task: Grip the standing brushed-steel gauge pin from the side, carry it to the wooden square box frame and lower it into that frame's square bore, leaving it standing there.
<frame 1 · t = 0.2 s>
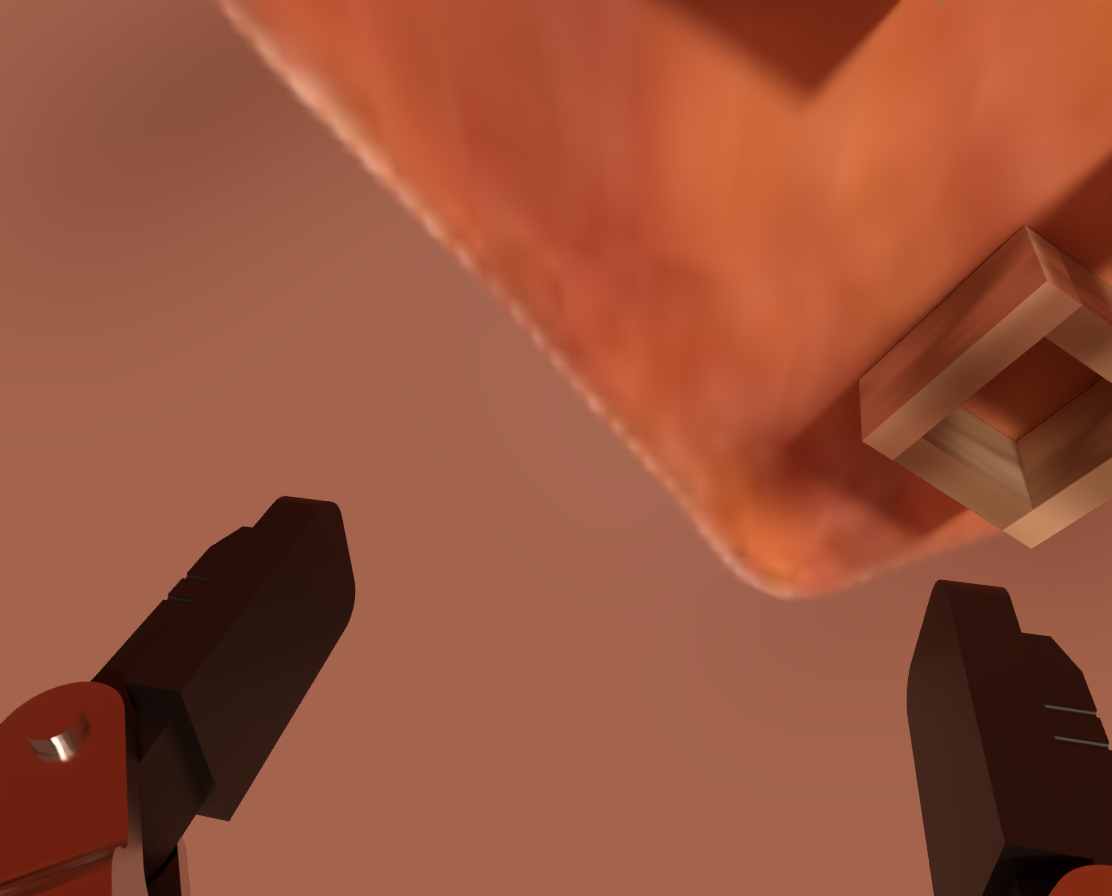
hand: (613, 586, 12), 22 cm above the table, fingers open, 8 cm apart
wooden square box frame: (1018, 365, 32), on the table
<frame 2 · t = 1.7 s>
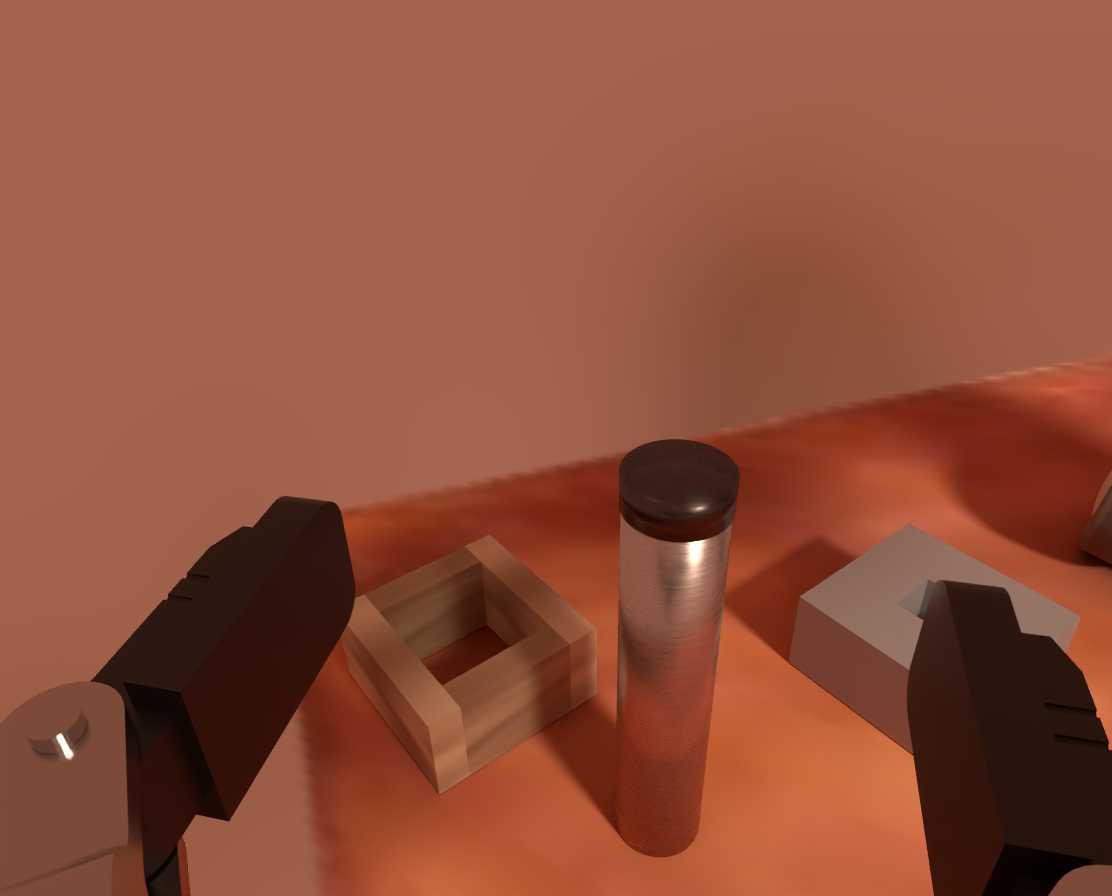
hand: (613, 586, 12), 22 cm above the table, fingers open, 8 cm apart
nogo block: (918, 672, 38), on the table
wooden square box frame: (470, 683, 38), on the table
gauge pin: (656, 817, 32), on the table
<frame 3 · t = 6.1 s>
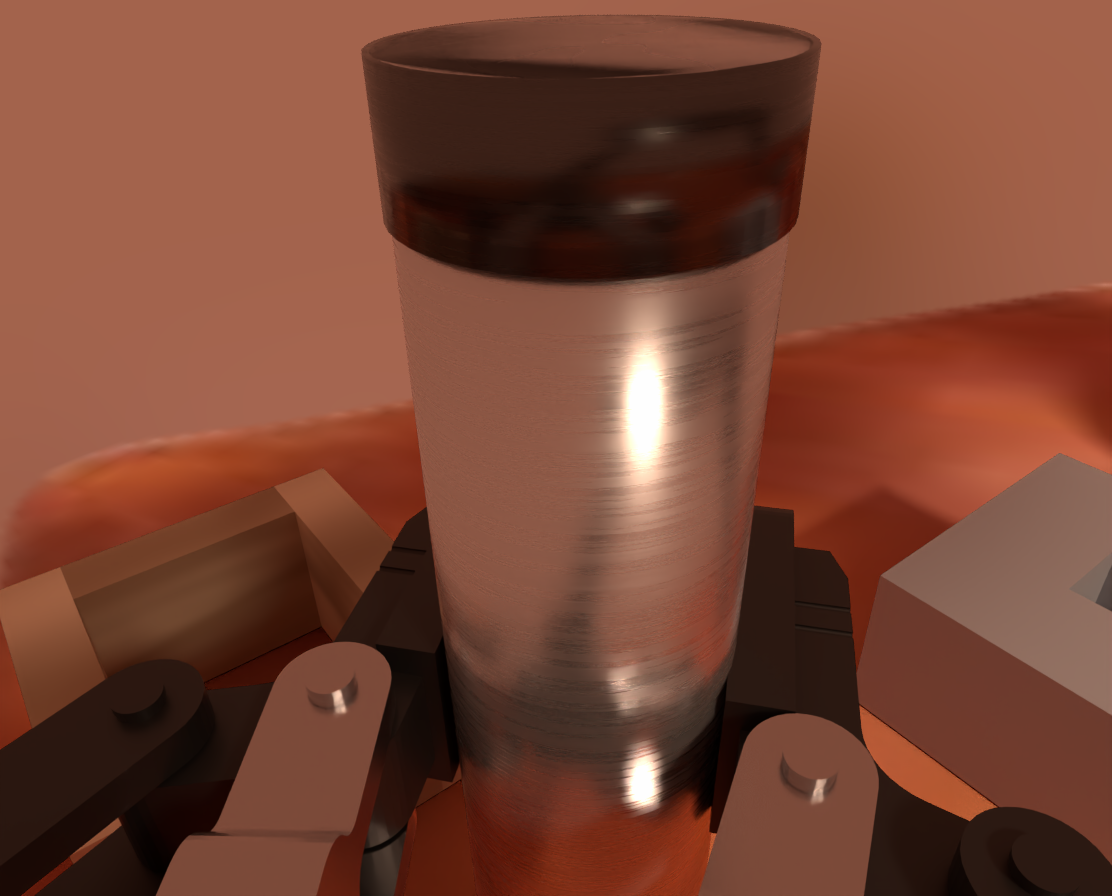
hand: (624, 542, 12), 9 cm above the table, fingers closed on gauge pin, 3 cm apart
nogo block: (1093, 719, 21), on the table
wooden square box frame: (266, 734, 21), on the table
when the fingers open (10 cm above the table, at t = 10.2 s): gauge pin stays where it is, resting in wooden square box frame.
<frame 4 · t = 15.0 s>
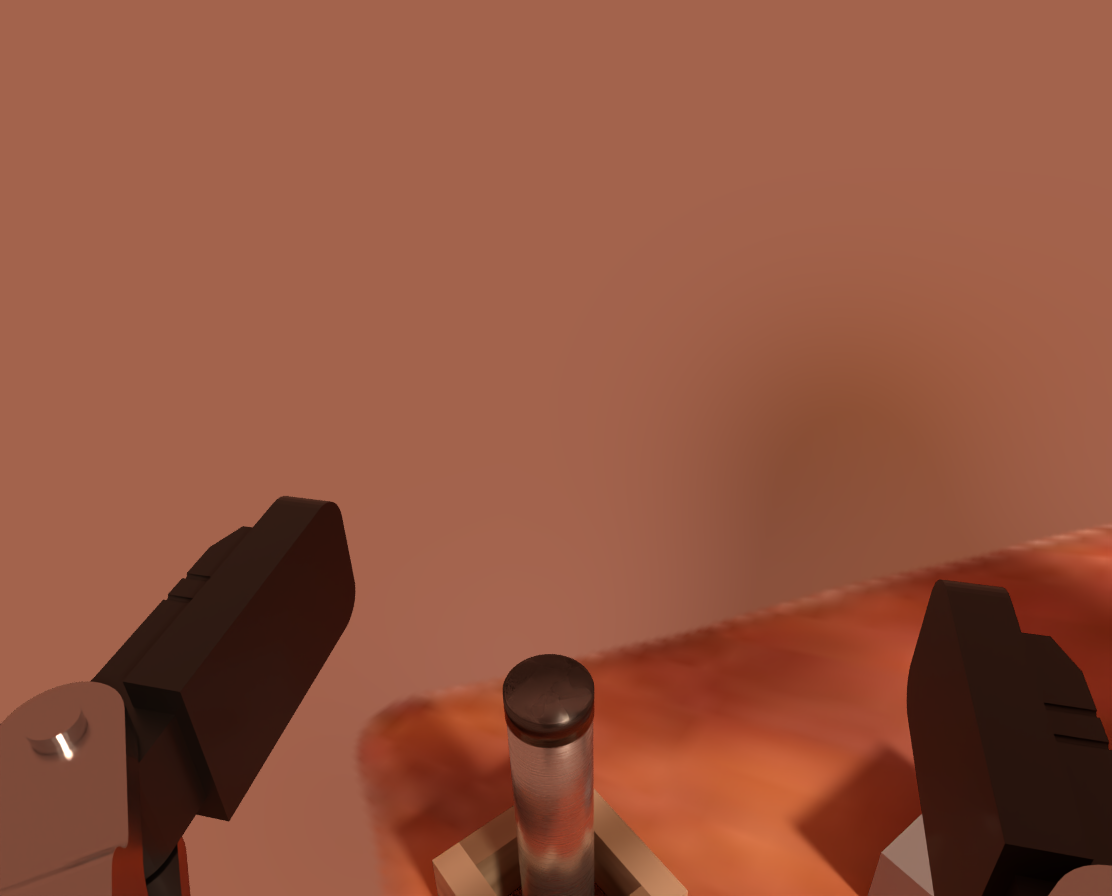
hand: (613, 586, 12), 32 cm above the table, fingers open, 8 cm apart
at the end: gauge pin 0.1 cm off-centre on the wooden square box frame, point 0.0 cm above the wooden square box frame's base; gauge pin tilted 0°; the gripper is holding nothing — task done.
